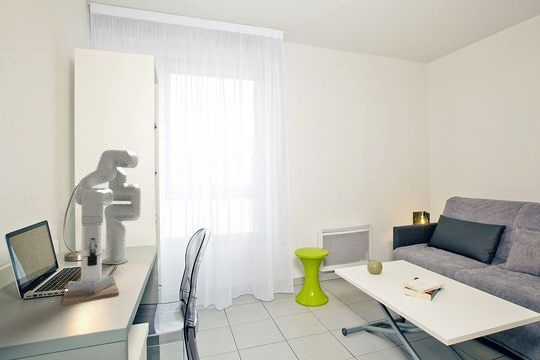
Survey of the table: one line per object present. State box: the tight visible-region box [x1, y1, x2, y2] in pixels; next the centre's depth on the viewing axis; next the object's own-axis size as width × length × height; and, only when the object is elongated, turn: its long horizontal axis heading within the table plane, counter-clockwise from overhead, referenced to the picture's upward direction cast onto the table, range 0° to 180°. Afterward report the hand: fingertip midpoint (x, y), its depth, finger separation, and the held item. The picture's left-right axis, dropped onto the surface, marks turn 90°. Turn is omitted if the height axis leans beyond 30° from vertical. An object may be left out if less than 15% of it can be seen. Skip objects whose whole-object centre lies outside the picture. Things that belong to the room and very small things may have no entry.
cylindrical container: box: [80, 223, 103, 283], centre depth 118 cm, size 7×7×25 cm
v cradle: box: [63, 274, 120, 306], centre depth 118 cm, size 20×18×5 cm
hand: (91, 262), depth 118 cm, fingers closed on cylindrical container, 7 cm apart
